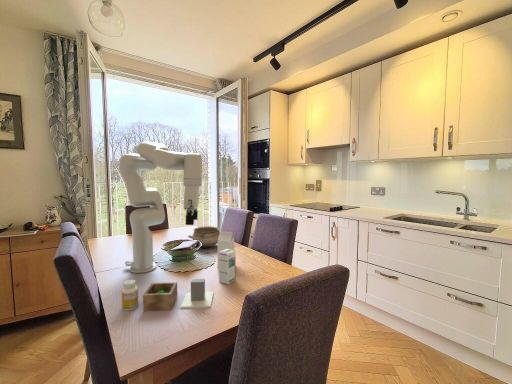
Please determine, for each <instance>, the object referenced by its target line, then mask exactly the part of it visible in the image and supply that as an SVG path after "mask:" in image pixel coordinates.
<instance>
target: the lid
mask: <svg viewBox="0 0 512 384" xmlns="http://www.w3.org/2000/svg"><path fill="white" fill-rule="evenodd" d="M205 281H206V279H205V278H191V280H190V292H186V294H185V296H184V299H183V300H182V302H181V305H180V309H210V308H211V306H212V303H213V297H214V294H215V293H214V291H206V282H205Z"/></svg>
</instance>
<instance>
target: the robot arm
mask: <svg viewBox="0 0 512 384" xmlns="http://www.w3.org/2000/svg"><path fill="white" fill-rule="evenodd" d="M118 165H119V172H120V174H121V177H122V178H123V181H124V183H125V188H126V192H127V197H128V201H129V204H130V205H131V206H132V207H133V208H138V209H135V210H133V211H131V213H130V214H129V222H130V227H131V232H132V233H131V235H132V236H131V237H132V260H126V261H124V262H125V263H124V264H125V266H126V267H129V266H130V267H129V270H130V272H131V273H135V274H142V273H145V274H146V273H149V272H152V271H153V270H156V268H157V264H156V263H155V262H154V243H153V240H154V239H153V237H154V236H153V233H152V231H151V229H149V227H151V226H157V225H161V224H162V223H164V221H165V219H166V213H165V207H164V204H163V200H162V195H161V193H160V191H159V190H158V189H156V188H154V187H147V188H146V187H145V183H144V179H143V177H142V176H141V175H140V174H139V173H138V172H136V171H142V172H146V171H148V172H149V171H150V172H151V171H154V170H156V169H157V168H161V169H164V170H170V171H183V179H182V180H183V182H182V183H183V185H182V186H183V187H184V192H183V210H184V211H185V225H186V226H194V223H195V221H197V220H198V213H199V212H198V207H199V202H200V187H202V186H203V185H202V184H203V181H202V176H203V173H202V172H203V156H202V155H201V154H200V153H195V152H194V153H193V152H188V153H184V152H177V151H169V149H168V148H167V146H166V145H165V144H163V143H160V142H159V143H158V142H151V141H143V142H141V143H139V144H138V145H137V147H136V153H128V154H123V155H122V156H121V157H120V159H119V163H118ZM139 207H146V208H139Z"/></svg>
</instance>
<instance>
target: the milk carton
mask: <svg viewBox="0 0 512 384" xmlns="http://www.w3.org/2000/svg"><path fill="white" fill-rule="evenodd" d="M219 232H220V234H219V237H218V243H217V269H219V252H220V251H223V250H225V249H231V250H235V237H234V234H233V232H231V231H219Z"/></svg>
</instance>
